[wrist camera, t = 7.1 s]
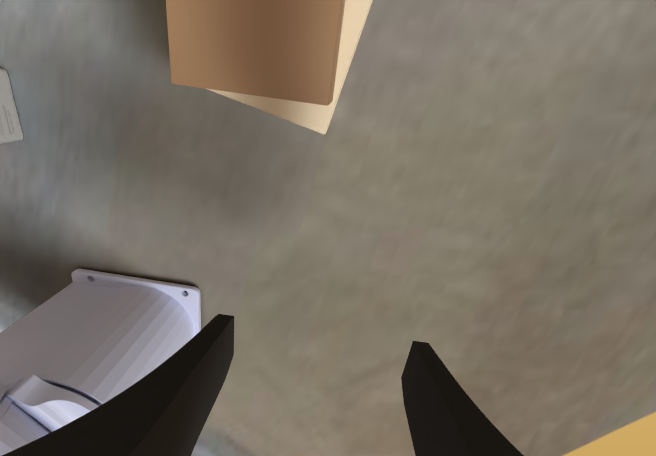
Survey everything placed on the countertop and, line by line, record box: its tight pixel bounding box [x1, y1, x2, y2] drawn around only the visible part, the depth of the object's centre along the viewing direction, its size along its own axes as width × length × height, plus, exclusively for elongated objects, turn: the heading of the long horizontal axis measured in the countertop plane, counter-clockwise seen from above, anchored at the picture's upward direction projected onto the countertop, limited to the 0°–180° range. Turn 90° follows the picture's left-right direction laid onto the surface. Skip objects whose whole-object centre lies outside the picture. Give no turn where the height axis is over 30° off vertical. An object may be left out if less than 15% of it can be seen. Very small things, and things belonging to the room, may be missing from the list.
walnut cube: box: [166, 0, 345, 106], centre depth 11 cm, size 5×5×5 cm
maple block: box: [205, 0, 373, 135], centre depth 15 cm, size 7×7×4 cm
